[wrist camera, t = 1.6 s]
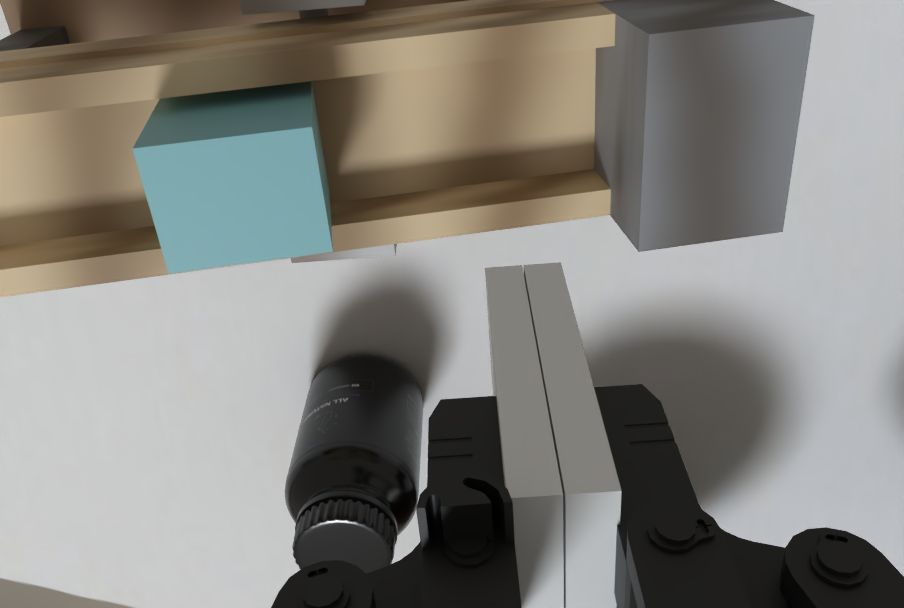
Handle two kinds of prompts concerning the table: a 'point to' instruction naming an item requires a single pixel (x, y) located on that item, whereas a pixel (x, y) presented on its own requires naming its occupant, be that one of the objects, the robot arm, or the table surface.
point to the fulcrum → (167, 11)
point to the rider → (236, 177)
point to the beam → (426, 125)
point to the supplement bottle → (355, 463)
